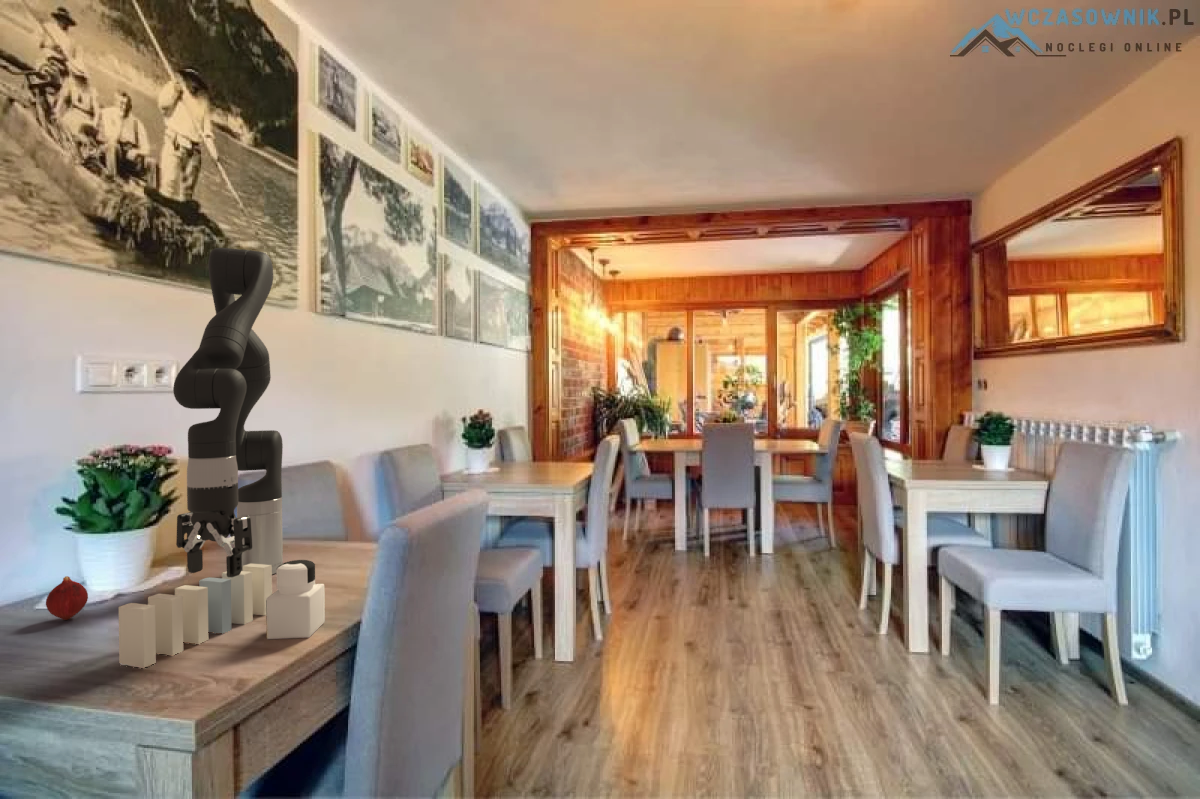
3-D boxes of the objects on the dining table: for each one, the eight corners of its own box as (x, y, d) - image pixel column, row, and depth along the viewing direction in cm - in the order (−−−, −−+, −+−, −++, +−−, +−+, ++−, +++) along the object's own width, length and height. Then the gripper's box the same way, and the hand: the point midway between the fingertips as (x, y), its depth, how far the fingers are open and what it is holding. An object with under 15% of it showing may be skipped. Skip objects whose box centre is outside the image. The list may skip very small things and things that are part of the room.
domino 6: (243, 613, 113) (242, 566, 113) (251, 609, 115) (250, 563, 114) (264, 615, 111) (264, 567, 111) (272, 612, 113) (271, 565, 113)
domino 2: (148, 653, 95) (147, 597, 95) (159, 648, 97) (158, 593, 97) (172, 656, 94) (171, 599, 94) (183, 651, 96) (182, 595, 96)
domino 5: (222, 622, 108) (221, 572, 108) (231, 618, 110) (230, 570, 110) (244, 624, 107) (243, 574, 107) (252, 620, 109) (252, 571, 109)
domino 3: (175, 641, 100) (174, 588, 100) (185, 637, 102) (184, 585, 101) (198, 644, 98) (198, 590, 98) (208, 640, 100) (207, 587, 100)
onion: (95, 615, 112) (94, 573, 112) (59, 627, 107) (58, 582, 107) (75, 612, 114) (74, 570, 114) (38, 623, 109) (38, 579, 109)
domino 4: (199, 631, 104) (199, 580, 104) (209, 627, 106) (208, 577, 106) (222, 634, 103) (221, 582, 103) (231, 630, 105) (230, 579, 104)
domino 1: (119, 665, 91) (118, 606, 91) (131, 660, 93) (130, 602, 93) (144, 668, 90) (143, 609, 90) (155, 663, 92) (155, 605, 91)
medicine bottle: (284, 624, 107) (283, 557, 107) (325, 622, 108) (324, 556, 108) (265, 640, 100) (264, 569, 100) (309, 638, 101) (308, 567, 101)
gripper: (160, 483, 102) (162, 577, 103) (226, 487, 99) (228, 584, 99) (200, 477, 110) (202, 564, 110) (263, 480, 106) (264, 570, 106)
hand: (214, 573), depth 105 cm, fingers open, 8 cm apart
